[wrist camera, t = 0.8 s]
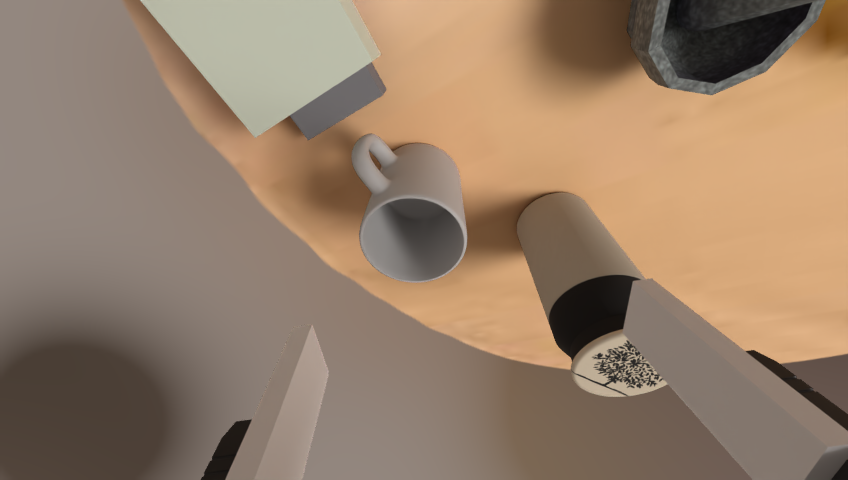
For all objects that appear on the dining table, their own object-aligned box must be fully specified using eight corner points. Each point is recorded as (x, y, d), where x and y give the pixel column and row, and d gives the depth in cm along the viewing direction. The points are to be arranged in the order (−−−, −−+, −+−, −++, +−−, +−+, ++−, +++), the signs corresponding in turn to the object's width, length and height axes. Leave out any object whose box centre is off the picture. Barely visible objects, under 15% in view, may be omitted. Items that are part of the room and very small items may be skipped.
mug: (475, 191, 34) (489, 255, 25) (411, 229, 37) (403, 298, 28) (406, 91, 29) (392, 127, 20) (338, 145, 32) (299, 198, 23)
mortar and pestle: (613, 98, 28) (705, 143, 19) (590, -23, 24) (697, -47, 14) (766, 26, 25) (977, 35, 15) (775, -131, 20) (1086, -264, 11)
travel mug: (558, 176, 33) (655, 309, 18) (604, 218, 35) (723, 364, 21) (501, 227, 37) (544, 371, 22) (547, 261, 39) (613, 411, 25)
